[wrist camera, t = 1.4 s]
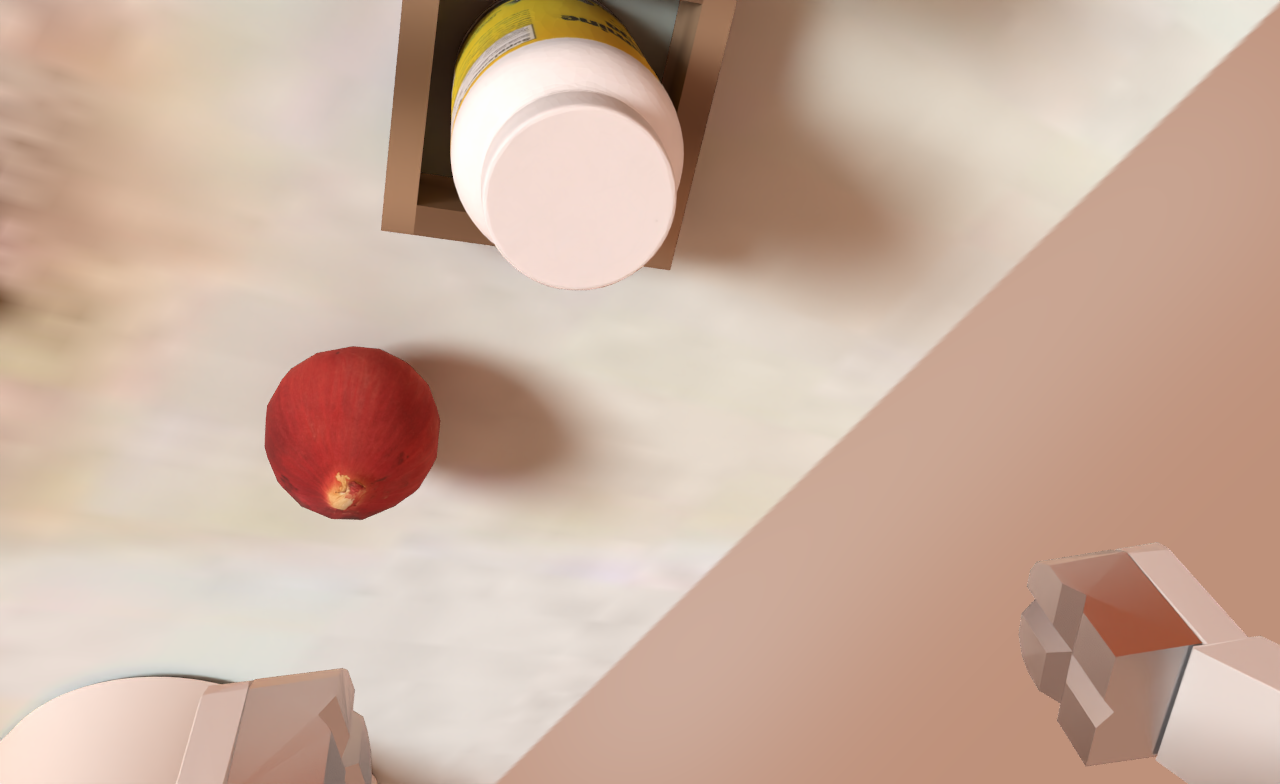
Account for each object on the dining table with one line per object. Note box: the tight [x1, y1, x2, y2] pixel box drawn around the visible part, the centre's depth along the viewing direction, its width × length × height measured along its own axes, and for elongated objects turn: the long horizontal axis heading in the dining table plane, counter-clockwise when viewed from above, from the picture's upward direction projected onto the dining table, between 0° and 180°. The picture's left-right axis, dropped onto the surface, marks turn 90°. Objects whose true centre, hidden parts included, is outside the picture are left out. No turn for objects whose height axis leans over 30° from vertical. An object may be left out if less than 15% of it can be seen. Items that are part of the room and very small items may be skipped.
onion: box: [265, 346, 440, 520], centre depth 35 cm, size 6×6×8 cm
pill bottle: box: [450, 0, 684, 290], centre depth 29 cm, size 6×6×11 cm
